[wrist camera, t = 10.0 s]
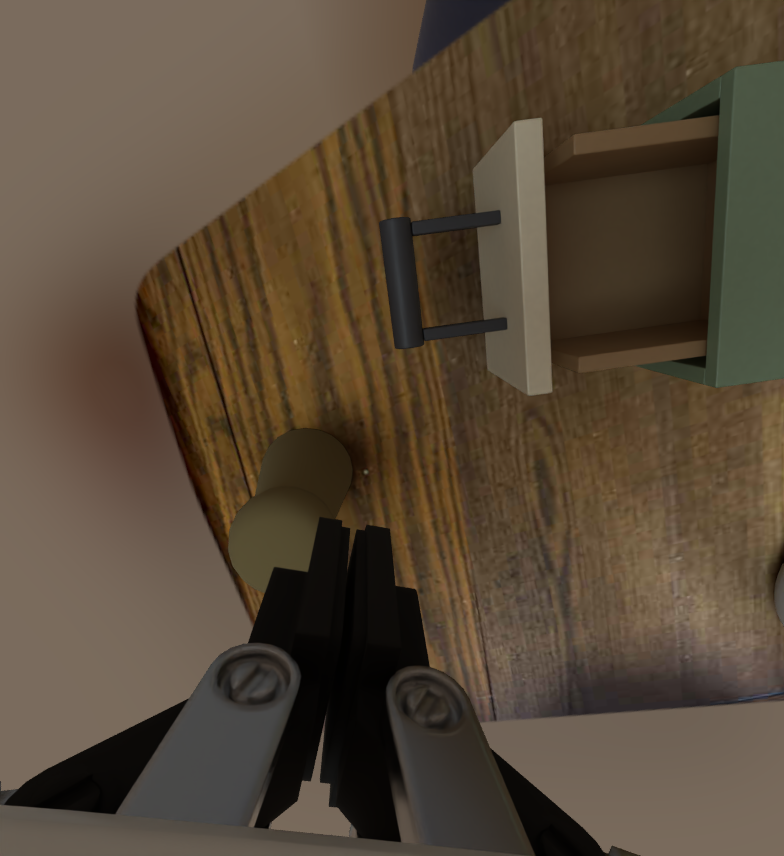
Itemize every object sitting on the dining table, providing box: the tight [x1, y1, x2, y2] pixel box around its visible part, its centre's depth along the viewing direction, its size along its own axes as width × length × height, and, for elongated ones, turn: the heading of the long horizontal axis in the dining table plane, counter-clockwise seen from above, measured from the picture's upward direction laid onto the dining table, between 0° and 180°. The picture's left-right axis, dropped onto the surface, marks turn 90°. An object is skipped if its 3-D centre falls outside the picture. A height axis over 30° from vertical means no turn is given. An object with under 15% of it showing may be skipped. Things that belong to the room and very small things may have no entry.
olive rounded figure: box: [228, 428, 353, 593], centre depth 27 cm, size 6×6×11 cm
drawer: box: [379, 115, 719, 396], centre depth 24 cm, size 19×11×8 cm, turn 97°
